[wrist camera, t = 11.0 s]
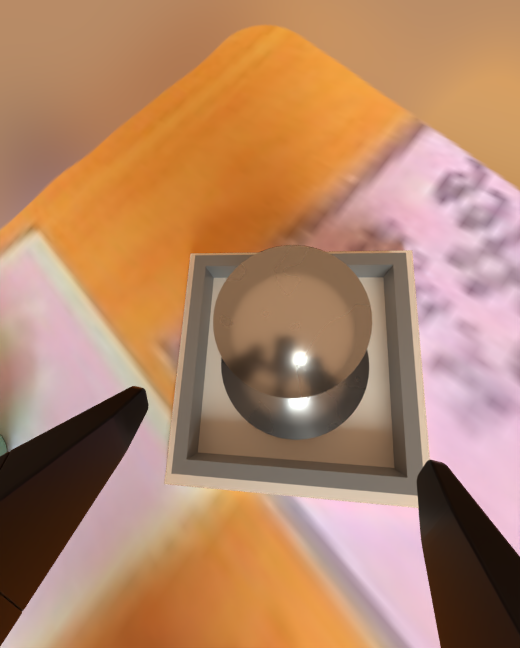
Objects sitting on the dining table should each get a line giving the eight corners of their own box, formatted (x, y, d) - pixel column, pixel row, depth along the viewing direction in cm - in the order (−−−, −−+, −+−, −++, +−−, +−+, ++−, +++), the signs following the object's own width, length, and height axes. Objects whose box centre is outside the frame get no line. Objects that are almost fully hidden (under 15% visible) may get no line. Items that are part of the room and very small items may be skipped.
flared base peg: (257, 459, 18) (186, 588, 6) (207, 331, 20) (87, 246, 8) (390, 400, 17) (577, 416, 6) (324, 278, 20) (365, 119, 8)
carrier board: (171, 479, 19) (148, 494, 16) (195, 259, 23) (180, 239, 20) (425, 502, 17) (453, 525, 14) (406, 257, 21) (424, 235, 18)
